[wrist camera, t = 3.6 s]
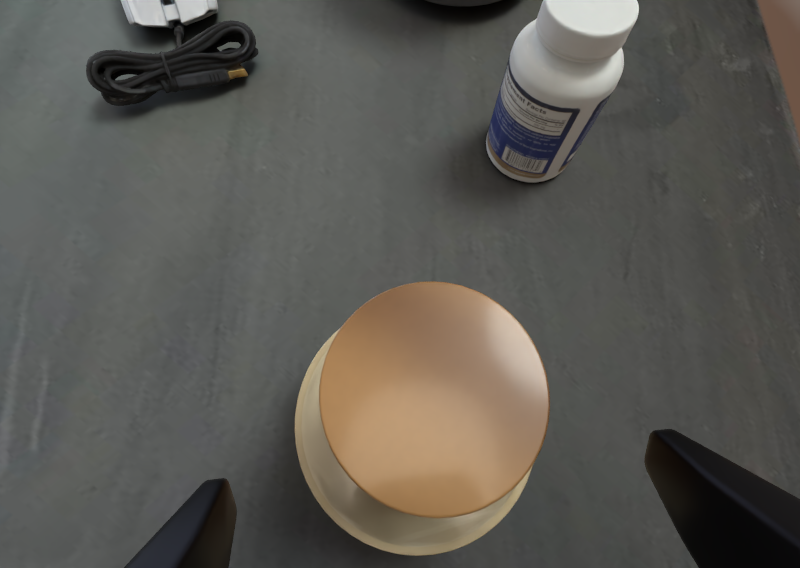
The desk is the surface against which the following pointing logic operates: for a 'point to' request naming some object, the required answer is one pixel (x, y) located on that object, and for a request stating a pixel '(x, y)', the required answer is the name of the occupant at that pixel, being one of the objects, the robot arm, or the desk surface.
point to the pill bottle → (557, 85)
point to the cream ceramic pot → (362, 510)
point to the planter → (463, 2)
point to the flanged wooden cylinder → (434, 399)
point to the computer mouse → (172, 53)
